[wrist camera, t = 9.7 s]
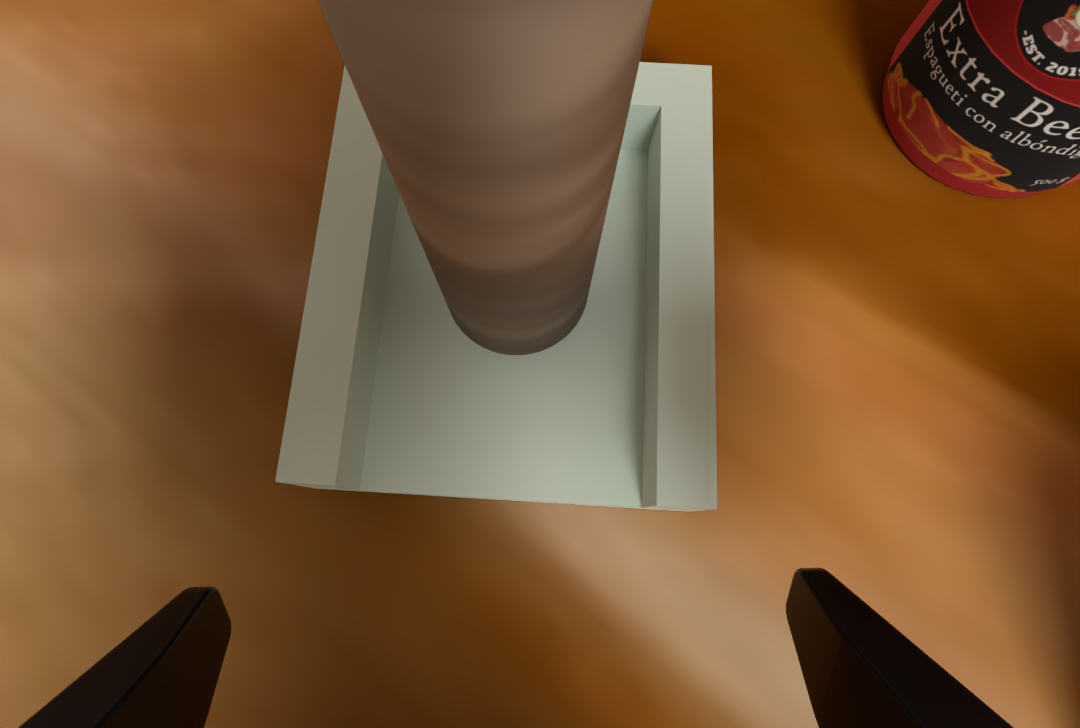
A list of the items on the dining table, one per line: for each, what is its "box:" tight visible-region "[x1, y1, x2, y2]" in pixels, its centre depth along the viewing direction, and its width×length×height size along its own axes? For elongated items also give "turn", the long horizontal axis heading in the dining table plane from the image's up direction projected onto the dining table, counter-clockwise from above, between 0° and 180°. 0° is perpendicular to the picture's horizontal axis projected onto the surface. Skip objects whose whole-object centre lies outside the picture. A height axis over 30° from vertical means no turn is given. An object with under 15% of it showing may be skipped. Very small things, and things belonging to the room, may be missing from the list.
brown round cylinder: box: [317, 0, 653, 355], centre depth 13 cm, size 4×4×13 cm
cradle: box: [275, 62, 717, 512], centre depth 18 cm, size 13×11×3 cm
